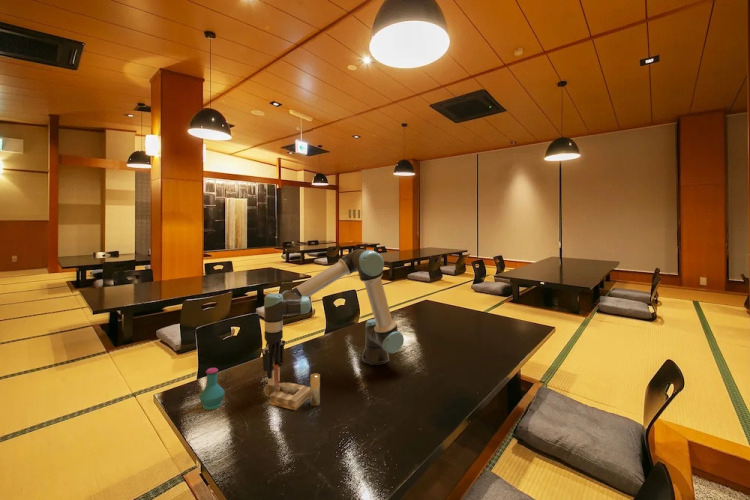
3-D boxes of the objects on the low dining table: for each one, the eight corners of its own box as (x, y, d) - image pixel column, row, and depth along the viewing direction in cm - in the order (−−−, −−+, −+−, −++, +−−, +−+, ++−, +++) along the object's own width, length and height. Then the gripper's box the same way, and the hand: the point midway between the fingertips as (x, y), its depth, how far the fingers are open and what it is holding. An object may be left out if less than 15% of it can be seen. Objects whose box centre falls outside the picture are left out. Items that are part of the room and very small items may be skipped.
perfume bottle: (217, 396, 139) (216, 362, 138) (229, 403, 133) (228, 368, 132) (195, 406, 131) (194, 370, 130) (207, 414, 126) (206, 376, 125)
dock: (312, 394, 142) (312, 383, 141) (295, 410, 129) (295, 398, 129) (277, 387, 148) (277, 376, 148) (258, 401, 136) (258, 389, 135)
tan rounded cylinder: (321, 401, 136) (321, 374, 135) (316, 406, 132) (316, 378, 132) (313, 400, 137) (313, 372, 137) (308, 404, 134) (308, 376, 133)
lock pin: (297, 389, 138) (297, 368, 138) (293, 393, 135) (293, 370, 135) (273, 384, 142) (273, 363, 142) (269, 387, 140) (269, 366, 139)
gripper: (278, 323, 148) (278, 373, 149) (253, 334, 133) (253, 389, 134) (292, 325, 145) (292, 376, 147) (268, 336, 130) (268, 393, 132)
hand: (273, 382), depth 141 cm, fingers closed on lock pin, 3 cm apart
